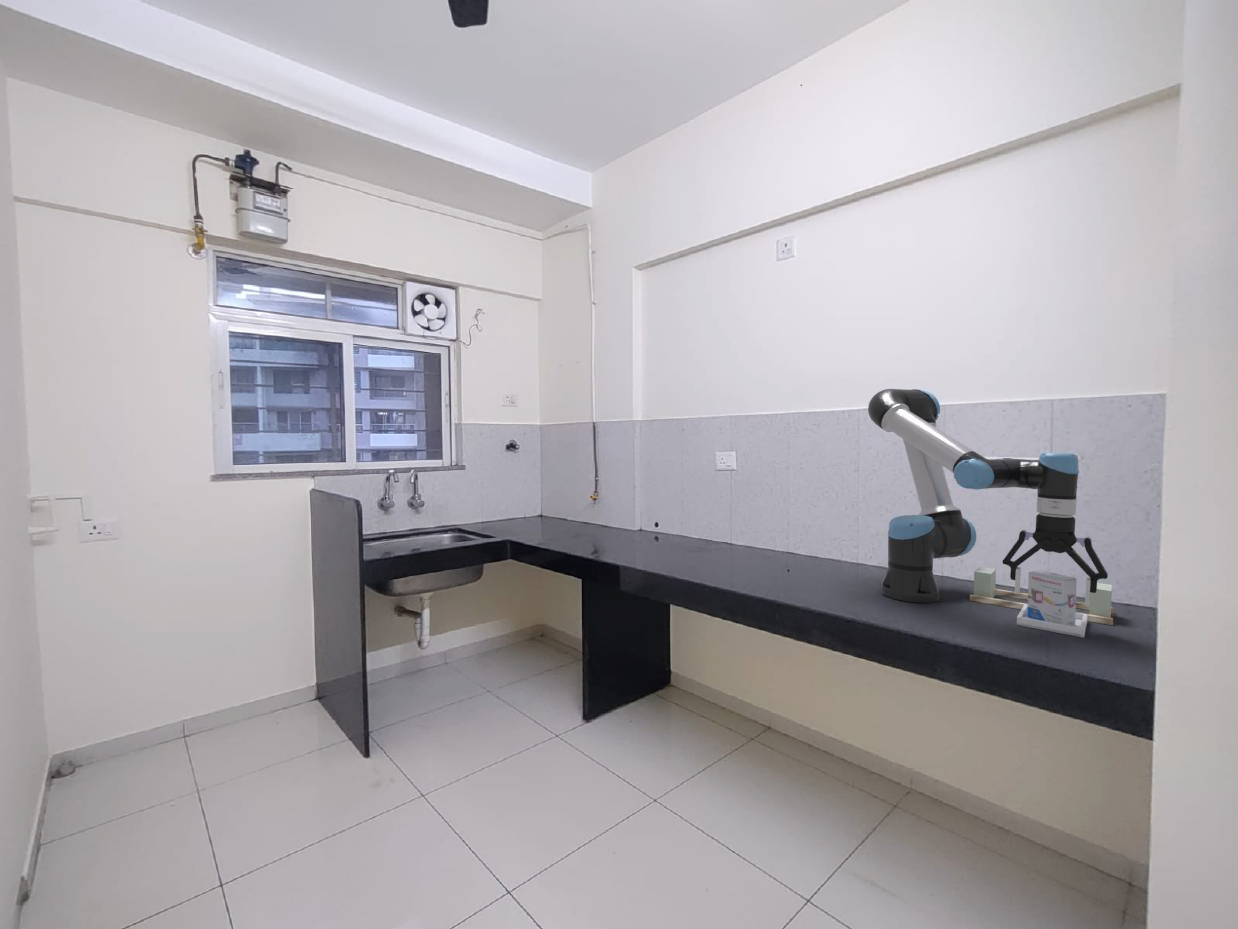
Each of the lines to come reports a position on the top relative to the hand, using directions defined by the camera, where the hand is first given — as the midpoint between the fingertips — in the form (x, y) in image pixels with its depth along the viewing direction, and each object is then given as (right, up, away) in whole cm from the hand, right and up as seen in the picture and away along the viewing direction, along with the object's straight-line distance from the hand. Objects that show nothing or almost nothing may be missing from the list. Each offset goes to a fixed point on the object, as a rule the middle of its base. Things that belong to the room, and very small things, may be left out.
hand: (1050, 598), depth 132 cm
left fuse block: (-1, -5, +22) cm, 23 cm away
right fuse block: (+17, -6, +5) cm, 18 cm away
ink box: (0, -6, 0) cm, 6 cm away
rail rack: (+8, -6, +13) cm, 16 cm away
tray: (0, -6, 0) cm, 6 cm away
